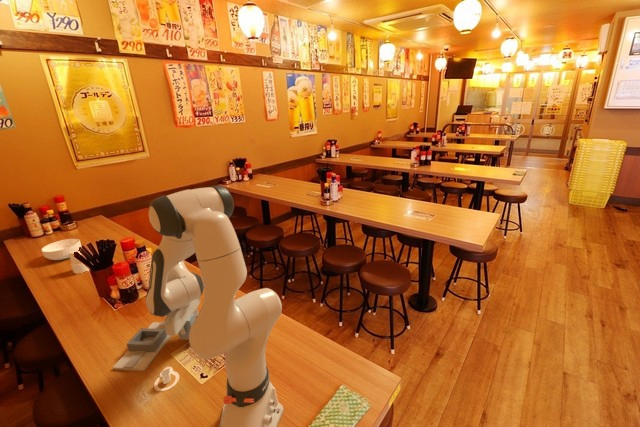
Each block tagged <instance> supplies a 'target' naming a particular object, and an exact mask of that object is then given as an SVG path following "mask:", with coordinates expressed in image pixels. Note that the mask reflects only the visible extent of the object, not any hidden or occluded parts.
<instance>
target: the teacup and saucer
mask: <svg viewBox="0 0 640 427" xmlns="http://www.w3.org/2000/svg"><path fill="white" fill-rule="evenodd" d="M172 375H173V376H174V377H175V380H174V381H173V383H172V384H170V385H169V386H167V387H164V388H163V387H159V384H158V383H159V382H160V380H161V381H162V384H163V385H167V384H169V383H170V382H171V379H172ZM179 380H180V374H179V372H177V371H174V370H173V367H172V366H166V367H164V368H163V369H162V371H161V372H160V373H159V376H158V378H156V380H155V381H154V383H153V389H154V390H155V391H157V392H165V391H168V390H170V389H172V388H173V387H174V386H176V385H177V383H178V382H179Z"/></svg>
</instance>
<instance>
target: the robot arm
mask: <svg viewBox="0 0 640 427" xmlns="http://www.w3.org/2000/svg"><path fill="white" fill-rule="evenodd" d="M234 209H235V202H234V199H233V196H232V194H231V192H230V191H229V190H228V189H227V188H226V187H225V186H224V185H223V186H222V185H210V186H208V187H198V188H193V189H183V190H180V191H177V192H174V193H171V194H168V195H161V196H159V197H157V198H155V199H152V200H151V201H150V203H149V205H148V219H149V222H150V225H151V226H152V228H153V229H154V230H155V232H156V233H158V234H160V235H162V238H161V240H160V243H159V245H158V247H157V248H156V249H155V250H154V251H153V253H152V255H151V262H150V268H149V280H148V287H147V292H146V295H145V304H146V308H147V310H148V311H149V314H150V315H152V316H155V317H162V318H163V317H164V322H165V330H166V334H167V335H171V337H172V336H177V335H179V334H178V333H179V331H180V332H181V334H185V333H186V332H187V329H186V328H183V327H184V325H185V323H186V322H187V319H188V318H189V317H190V315H191V314H194V311H195V310H196V308H199V305H200V304H201V296H203V300H202V305H201V308H200V311H199V312H198V313H199V315H198V316H197V317H196V320H195V322H194V323H193V324H192V326H191V329H190V332H189V339H188V343H189V346H190V348H191V350H192V351H193V353H194V354H195V355H196V356H197V357H198V358H201V359H204V360H211V359H213V358H216V357H218V356H221V355H225V357H224V366H225V369H226V376H227V378H226V395H224V398H223V407H222V411H221V412H222V413H221V417H220V422H219V426H218V427H278V426H279V422H280V421H281V418H282V416H283V413H284V411H285V410H284V406H283V404H282V403H280V402H279V400H278V399H279V398H278V395H277V390H276V388H275V386H274V385H273V384H272V382H271V380H270V371H269V368H268V366H267V362H266V361H267V360H266V348H267V343H268V340H269V336H270V335H271V332H272V330H273V328H274V326H275V324H276V323H277V321H278V320H279V318H280V317H281V316H282V311H283V308H282V306H283V304H282V300H281V299H280V297H279V295H278V294H277V292H276V291H274V290H273V289H271V288H268V287H264V288H260V289H257V290H253V291H250V292H248V293H245V294H244V295H242V296H240V297H238V298H236V296H237V293H238V291H239V290H240V288H241V287H242V285H243V284H244V283H245V281H246V279H247V276H248V270H247V266H246V262H245V259H244V255H243V251H242V247H241V244H240V242H239V238H238V236H237V232H236V231H235V228H234V226H233V224H232V222H231V220H230V217H231V216H232V215H233V214H234V213H233V212H234ZM194 254H195V256H196V257H195V258H196V260H197V261H196V262H197V263H198V267H199V270H200V275H199V274H198V273H195V272H192V271H190V270H189V269H188V268H187V266H186V264H185V262H184V261H185V260H187V259H188V258H190V257H191V256H193V255H194Z"/></svg>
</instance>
